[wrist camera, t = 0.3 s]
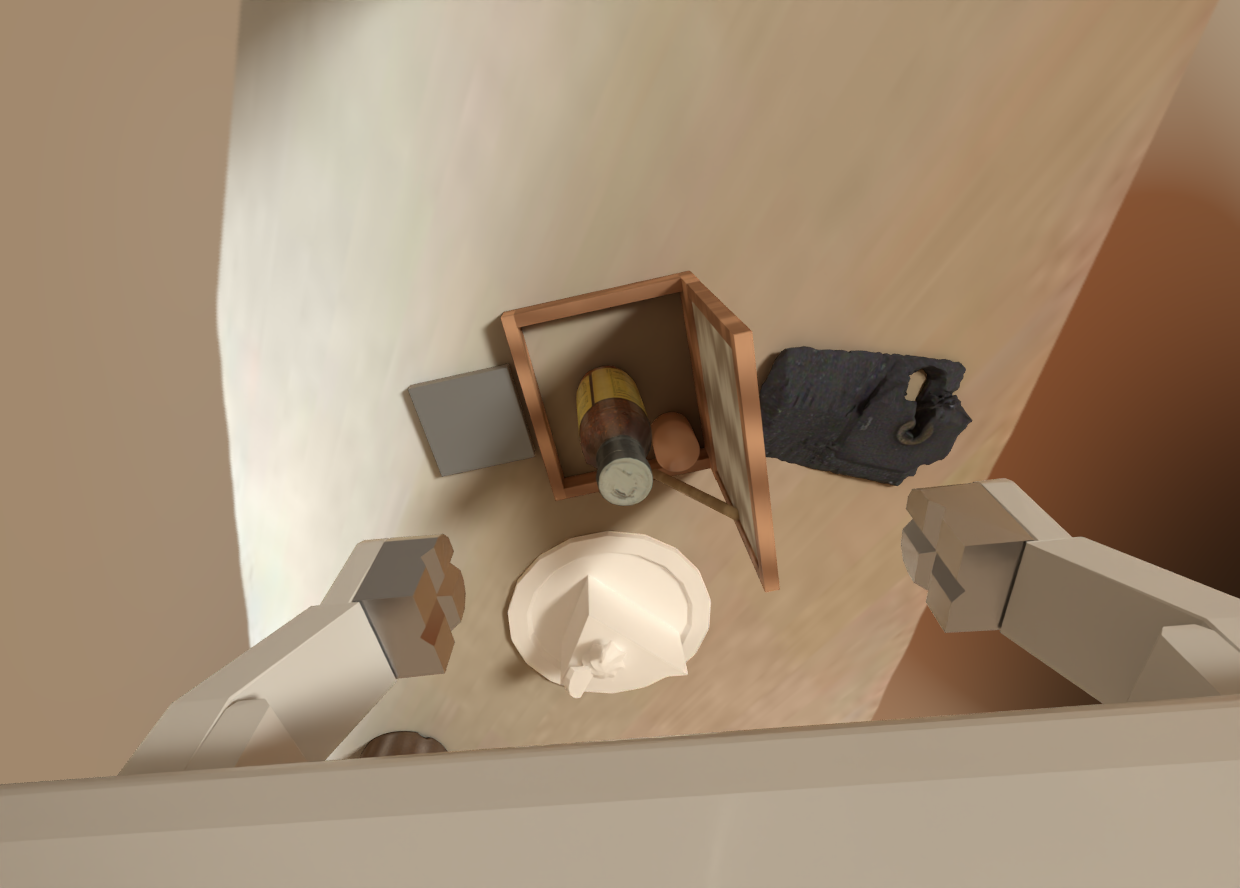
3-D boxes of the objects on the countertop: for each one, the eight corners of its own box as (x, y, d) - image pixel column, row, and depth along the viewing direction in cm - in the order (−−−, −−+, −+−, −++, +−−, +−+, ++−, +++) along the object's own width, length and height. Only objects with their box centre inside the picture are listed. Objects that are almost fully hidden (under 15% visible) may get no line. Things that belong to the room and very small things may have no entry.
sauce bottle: (597, 430, 61) (605, 539, 43) (564, 383, 59) (557, 478, 41) (651, 398, 60) (681, 497, 42) (619, 348, 57) (636, 431, 40)
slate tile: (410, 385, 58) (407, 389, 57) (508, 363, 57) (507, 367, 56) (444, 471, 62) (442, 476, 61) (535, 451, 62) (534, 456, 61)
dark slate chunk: (780, 317, 58) (796, 329, 53) (973, 364, 61) (1003, 378, 57) (731, 452, 64) (742, 472, 60) (909, 488, 67) (931, 509, 63)
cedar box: (503, 311, 55) (460, 395, 35) (689, 270, 55) (752, 331, 35) (556, 489, 64) (545, 636, 44) (717, 455, 63) (780, 589, 43)
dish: (488, 665, 75) (474, 743, 65) (541, 506, 65) (534, 569, 55) (665, 700, 80) (678, 778, 70) (739, 557, 70) (767, 623, 60)
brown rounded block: (646, 417, 61) (651, 437, 56) (687, 408, 61) (696, 427, 56) (654, 453, 63) (659, 475, 58) (693, 445, 63) (702, 466, 58)
